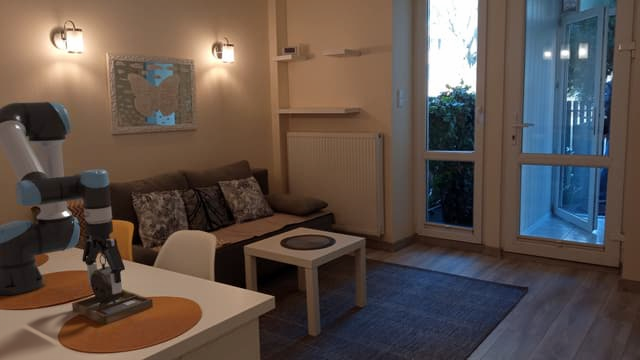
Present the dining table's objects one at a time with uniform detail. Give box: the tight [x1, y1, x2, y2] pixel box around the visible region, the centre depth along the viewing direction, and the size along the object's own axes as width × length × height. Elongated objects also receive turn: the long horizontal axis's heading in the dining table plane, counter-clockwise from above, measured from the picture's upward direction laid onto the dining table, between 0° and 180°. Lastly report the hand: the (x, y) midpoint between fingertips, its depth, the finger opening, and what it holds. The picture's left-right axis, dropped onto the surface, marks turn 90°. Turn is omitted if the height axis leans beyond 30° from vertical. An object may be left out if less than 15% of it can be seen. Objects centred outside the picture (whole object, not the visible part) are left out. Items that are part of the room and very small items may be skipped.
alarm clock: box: [90, 254, 121, 307], centre depth 159 cm, size 11×5×16 cm, turn 50°
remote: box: [101, 299, 141, 315], centre depth 154 cm, size 4×11×2 cm, turn 142°
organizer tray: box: [71, 289, 154, 325], centre depth 157 cm, size 18×16×3 cm
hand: (105, 288), depth 159 cm, fingers open, 13 cm apart
